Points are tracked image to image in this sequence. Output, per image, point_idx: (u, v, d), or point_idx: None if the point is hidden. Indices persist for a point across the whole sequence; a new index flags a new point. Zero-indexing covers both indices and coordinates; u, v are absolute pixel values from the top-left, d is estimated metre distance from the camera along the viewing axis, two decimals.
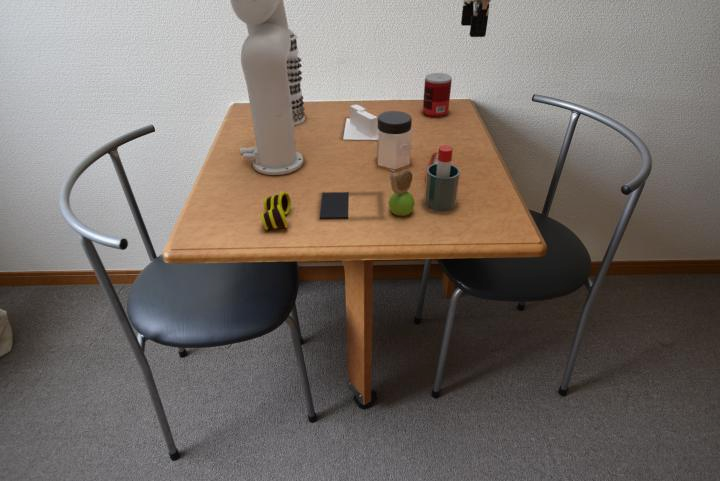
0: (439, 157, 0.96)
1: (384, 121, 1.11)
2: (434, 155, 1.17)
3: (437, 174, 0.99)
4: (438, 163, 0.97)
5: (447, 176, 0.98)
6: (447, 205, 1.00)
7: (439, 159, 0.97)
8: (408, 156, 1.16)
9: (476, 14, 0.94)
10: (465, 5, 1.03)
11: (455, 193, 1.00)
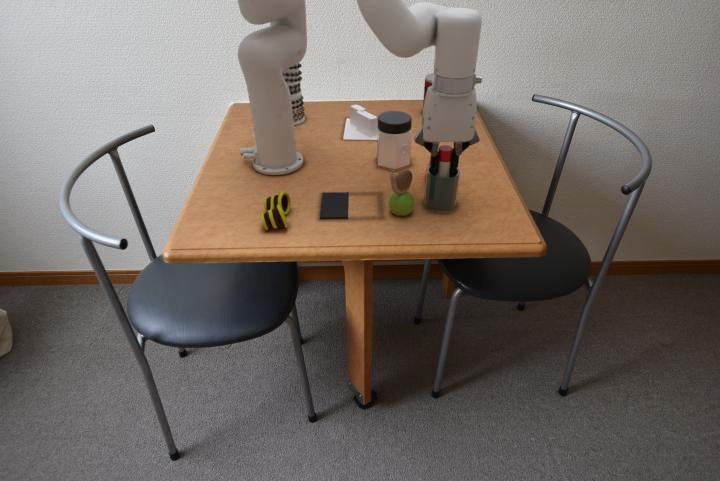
0: (439, 157, 0.96)
1: (384, 121, 1.11)
2: None
3: (437, 174, 0.99)
4: None
5: (447, 176, 0.98)
6: (447, 205, 1.00)
7: (439, 159, 0.97)
8: (408, 156, 1.16)
9: None
10: None
11: (455, 193, 1.00)
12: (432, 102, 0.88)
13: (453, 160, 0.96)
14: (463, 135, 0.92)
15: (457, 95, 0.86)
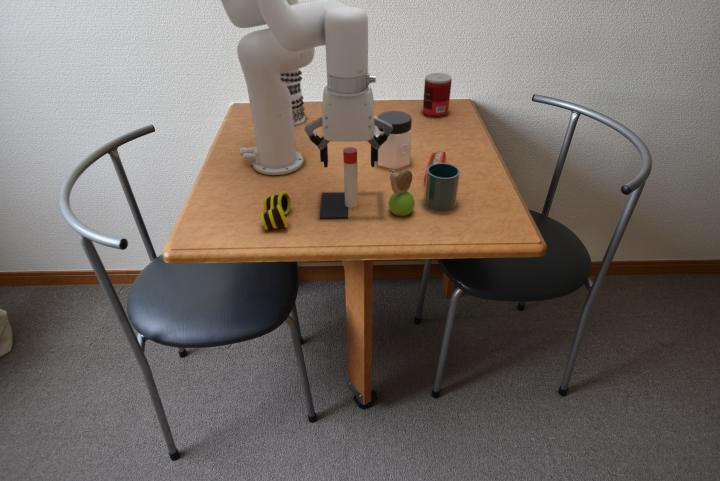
0: (344, 159, 0.96)
1: None
2: (433, 155, 1.17)
3: (344, 176, 0.99)
4: (344, 165, 0.97)
5: (354, 178, 0.98)
6: (447, 205, 1.00)
7: (344, 161, 0.97)
8: (408, 156, 1.16)
9: None
10: None
11: (455, 193, 1.00)
12: (327, 101, 0.88)
13: (372, 154, 0.95)
14: (362, 134, 0.92)
15: (349, 94, 0.85)
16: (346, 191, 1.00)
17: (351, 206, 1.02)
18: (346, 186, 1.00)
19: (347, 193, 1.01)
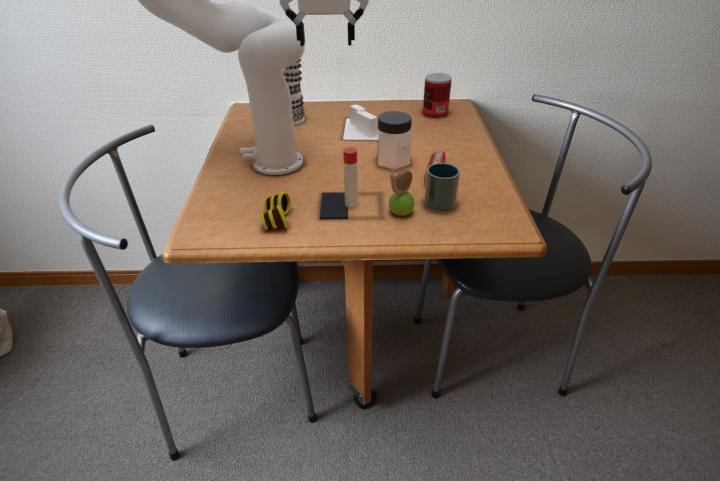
0: (344, 159, 0.96)
1: (384, 121, 1.11)
2: (433, 155, 1.17)
3: (344, 176, 0.99)
4: (344, 165, 0.97)
5: (354, 178, 0.98)
6: (447, 205, 1.00)
7: (344, 161, 0.97)
8: (408, 156, 1.16)
9: None
10: None
11: (455, 193, 1.00)
12: None
13: (348, 29, 0.94)
14: (338, 6, 0.91)
15: None
16: (346, 191, 1.00)
17: (351, 206, 1.02)
18: (346, 186, 1.00)
19: (347, 193, 1.01)
